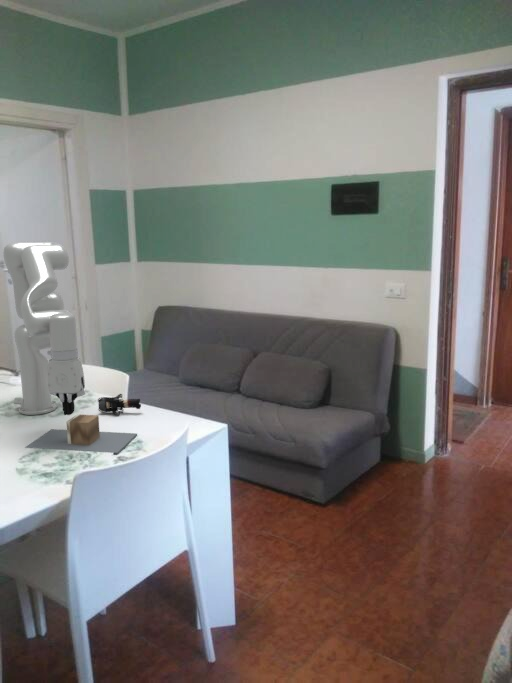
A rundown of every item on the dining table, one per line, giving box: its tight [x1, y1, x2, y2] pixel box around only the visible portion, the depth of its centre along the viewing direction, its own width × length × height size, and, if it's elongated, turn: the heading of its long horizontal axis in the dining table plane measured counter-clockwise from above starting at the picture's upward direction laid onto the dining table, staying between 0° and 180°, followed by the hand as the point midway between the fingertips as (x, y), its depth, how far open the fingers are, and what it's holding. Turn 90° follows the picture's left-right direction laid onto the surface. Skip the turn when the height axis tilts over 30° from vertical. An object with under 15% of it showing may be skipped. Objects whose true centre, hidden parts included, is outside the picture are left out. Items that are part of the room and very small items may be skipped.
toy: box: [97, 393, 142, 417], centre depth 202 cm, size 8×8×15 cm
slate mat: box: [24, 428, 138, 456], centre depth 176 cm, size 29×16×1 cm, turn 81°
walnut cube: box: [66, 413, 100, 445], centre depth 175 cm, size 7×7×7 cm
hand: (68, 413), depth 175 cm, fingers closed
